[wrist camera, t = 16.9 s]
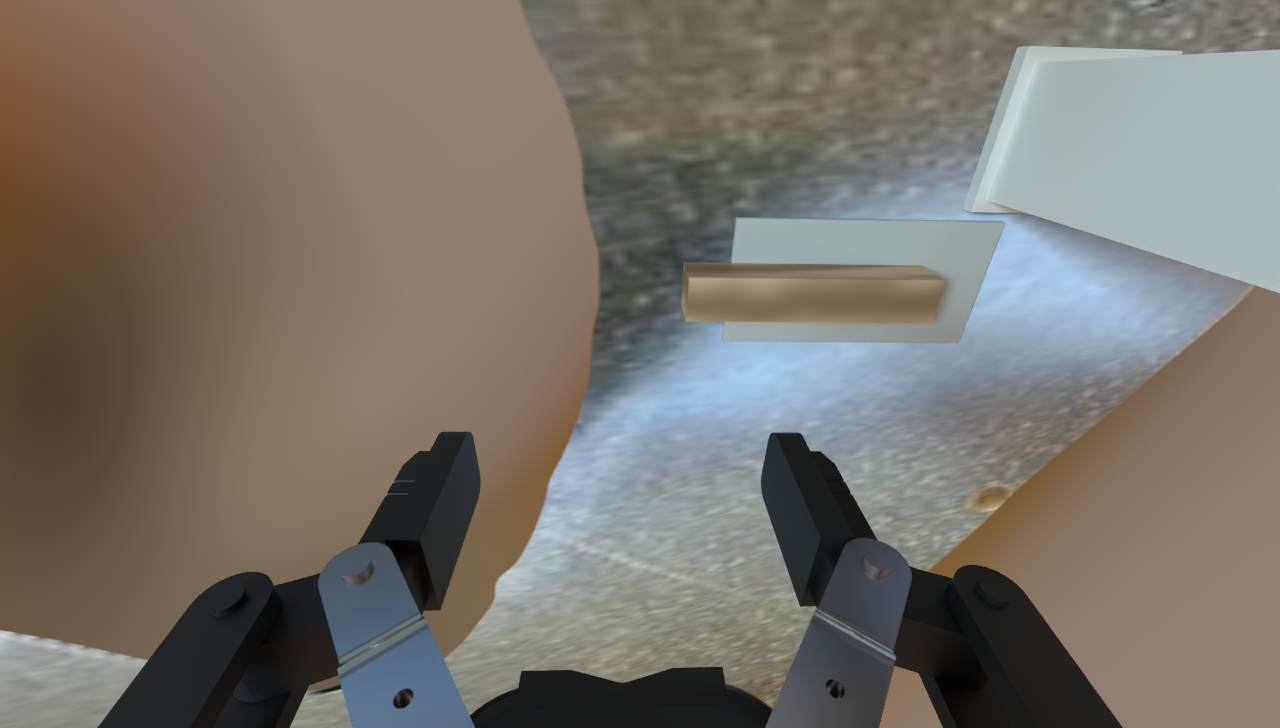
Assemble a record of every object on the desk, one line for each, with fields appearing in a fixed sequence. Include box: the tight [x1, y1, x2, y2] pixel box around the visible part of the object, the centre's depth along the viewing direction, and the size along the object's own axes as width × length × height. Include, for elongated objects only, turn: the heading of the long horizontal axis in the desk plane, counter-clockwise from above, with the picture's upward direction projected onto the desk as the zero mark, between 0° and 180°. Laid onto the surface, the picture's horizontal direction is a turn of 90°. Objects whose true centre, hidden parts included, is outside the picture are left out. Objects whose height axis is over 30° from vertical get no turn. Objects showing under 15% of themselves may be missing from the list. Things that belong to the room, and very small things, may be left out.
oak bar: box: [681, 262, 946, 323], centre depth 44 cm, size 4×22×4 cm, turn 89°
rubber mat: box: [722, 217, 1005, 343], centre depth 46 cm, size 12×24×1 cm, turn 89°
